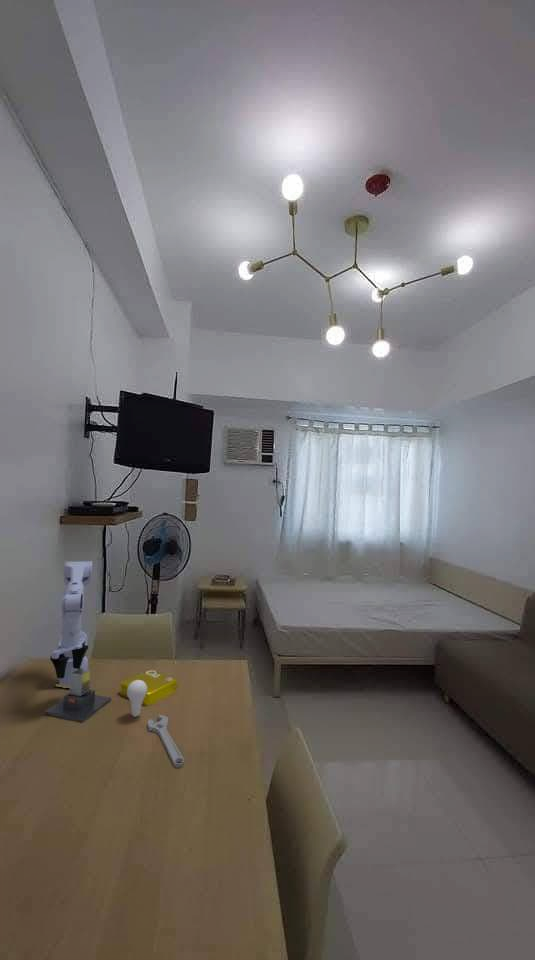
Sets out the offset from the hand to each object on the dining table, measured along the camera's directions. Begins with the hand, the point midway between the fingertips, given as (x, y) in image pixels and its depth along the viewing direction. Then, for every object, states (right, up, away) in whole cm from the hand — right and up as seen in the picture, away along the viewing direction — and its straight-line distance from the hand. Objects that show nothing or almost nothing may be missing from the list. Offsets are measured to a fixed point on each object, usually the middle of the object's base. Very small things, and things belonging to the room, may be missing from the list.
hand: (68, 672), depth 135 cm
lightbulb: (+24, -11, -6) cm, 27 cm away
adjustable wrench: (+36, -12, -18) cm, 42 cm away
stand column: (+4, -7, -2) cm, 8 cm away
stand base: (+4, -10, -2) cm, 11 cm away
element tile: (+23, -12, +11) cm, 28 cm away
